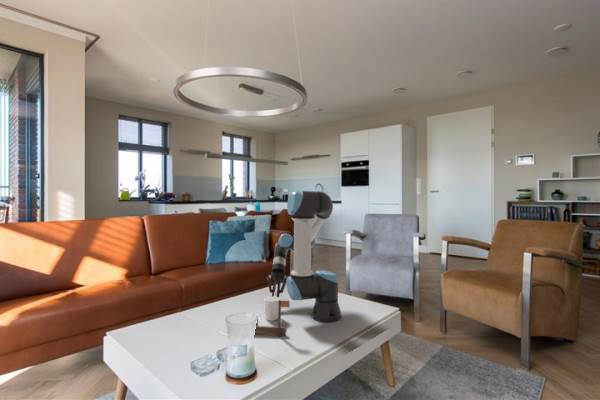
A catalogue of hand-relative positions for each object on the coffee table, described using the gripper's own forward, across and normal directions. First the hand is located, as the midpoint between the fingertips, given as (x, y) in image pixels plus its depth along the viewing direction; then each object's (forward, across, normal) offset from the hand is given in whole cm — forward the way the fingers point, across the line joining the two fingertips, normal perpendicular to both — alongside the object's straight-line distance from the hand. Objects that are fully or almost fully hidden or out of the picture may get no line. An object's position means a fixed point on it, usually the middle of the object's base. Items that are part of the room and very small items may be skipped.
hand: (274, 304), depth 173 cm
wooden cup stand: (+20, -1, +14) cm, 24 cm away
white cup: (+10, 0, +3) cm, 10 cm away
